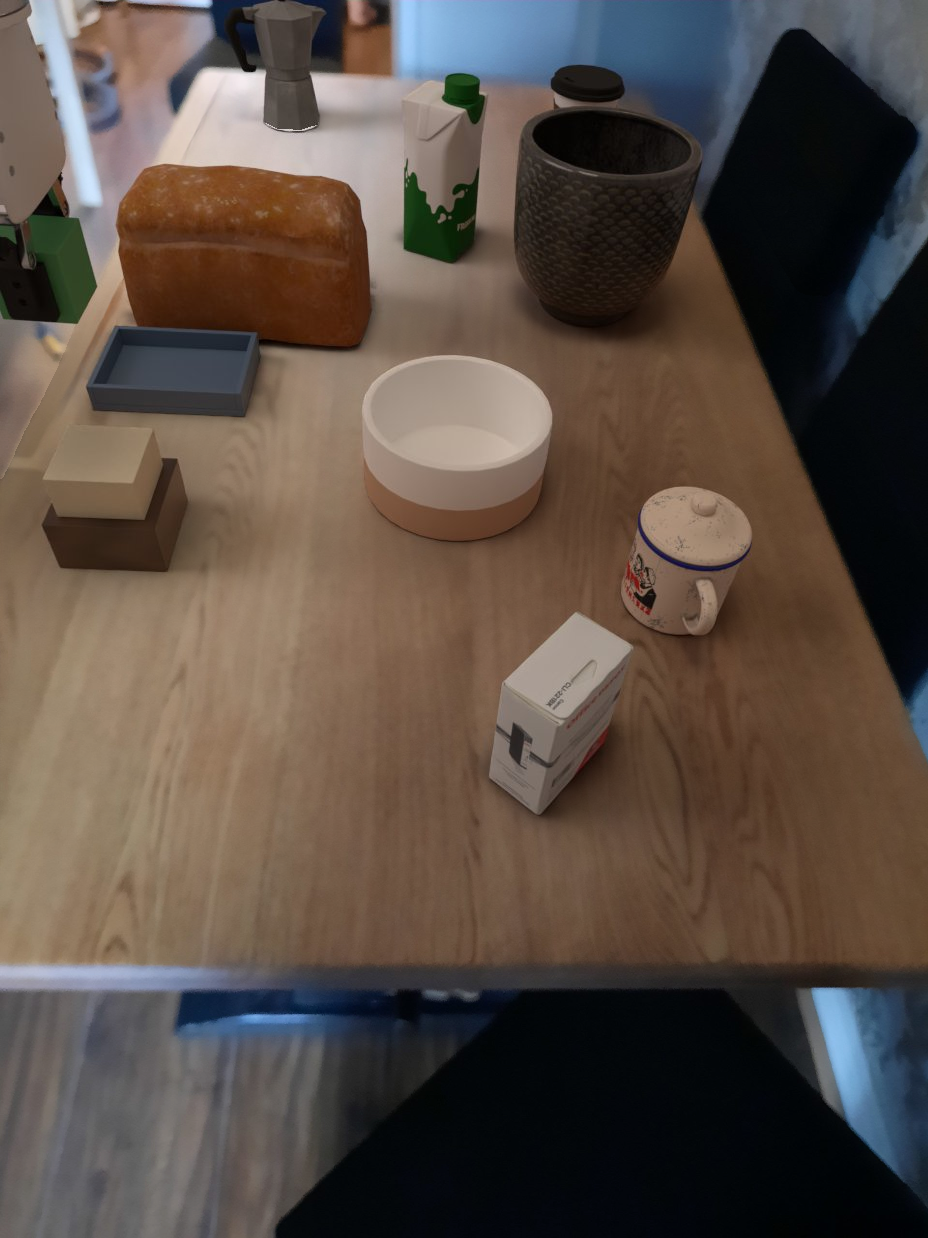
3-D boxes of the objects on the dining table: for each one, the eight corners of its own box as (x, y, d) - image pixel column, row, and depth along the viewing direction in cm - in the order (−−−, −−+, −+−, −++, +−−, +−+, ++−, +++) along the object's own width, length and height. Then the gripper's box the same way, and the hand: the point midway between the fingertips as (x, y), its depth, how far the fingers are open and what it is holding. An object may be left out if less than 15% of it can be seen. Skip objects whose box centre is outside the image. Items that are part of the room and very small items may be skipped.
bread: (162, 274, 104) (131, 136, 92) (376, 292, 104) (373, 157, 92) (127, 336, 95) (88, 192, 83) (361, 355, 96) (355, 215, 84)
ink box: (553, 705, 67) (578, 605, 57) (605, 742, 65) (639, 645, 56) (484, 777, 62) (499, 681, 53) (538, 818, 60) (563, 726, 51)
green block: (2, 319, 58) (-24, 248, 54) (26, 281, 61) (3, 211, 58) (77, 324, 58) (56, 253, 55) (97, 286, 62) (79, 217, 58)
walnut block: (59, 567, 73) (41, 525, 69) (88, 496, 78) (73, 453, 75) (167, 571, 73) (154, 529, 69) (188, 500, 79) (177, 458, 75)
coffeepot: (322, 106, 141) (314, -27, 128) (341, 128, 136) (334, -8, 122) (230, 115, 137) (211, -22, 123) (245, 138, 131) (227, -2, 118)
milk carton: (455, 268, 109) (465, 95, 94) (392, 250, 112) (392, 77, 96) (483, 240, 115) (496, 72, 100) (423, 223, 117) (427, 55, 102)
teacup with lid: (608, 561, 77) (635, 460, 68) (705, 560, 78) (745, 459, 69) (635, 668, 69) (671, 570, 60) (743, 665, 70) (794, 568, 61)
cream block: (57, 517, 69) (41, 479, 66) (81, 461, 74) (68, 423, 71) (144, 520, 70) (133, 483, 67) (163, 465, 74) (153, 427, 71)
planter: (670, 280, 111) (711, 120, 96) (651, 362, 98) (696, 192, 84) (522, 253, 113) (540, 93, 99) (486, 329, 101) (501, 158, 86)
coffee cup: (569, 183, 128) (583, 94, 119) (527, 155, 134) (536, 68, 124) (625, 170, 132) (642, 83, 123) (581, 143, 138) (594, 58, 129)
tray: (92, 409, 87) (85, 386, 84) (120, 348, 94) (114, 324, 92) (244, 416, 87) (240, 393, 85) (260, 354, 95) (257, 332, 92)
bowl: (339, 445, 85) (335, 373, 79) (494, 410, 90) (502, 340, 84) (403, 562, 75) (404, 490, 69) (572, 515, 81) (588, 444, 74)
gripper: (-62, -67, 51) (34, 234, 65) (-205, 25, 40) (-54, 363, 54) (67, -55, 51) (134, 241, 65) (-40, 38, 40) (68, 370, 54)
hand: (48, 293), depth 59 cm, fingers closed on green block, 5 cm apart
